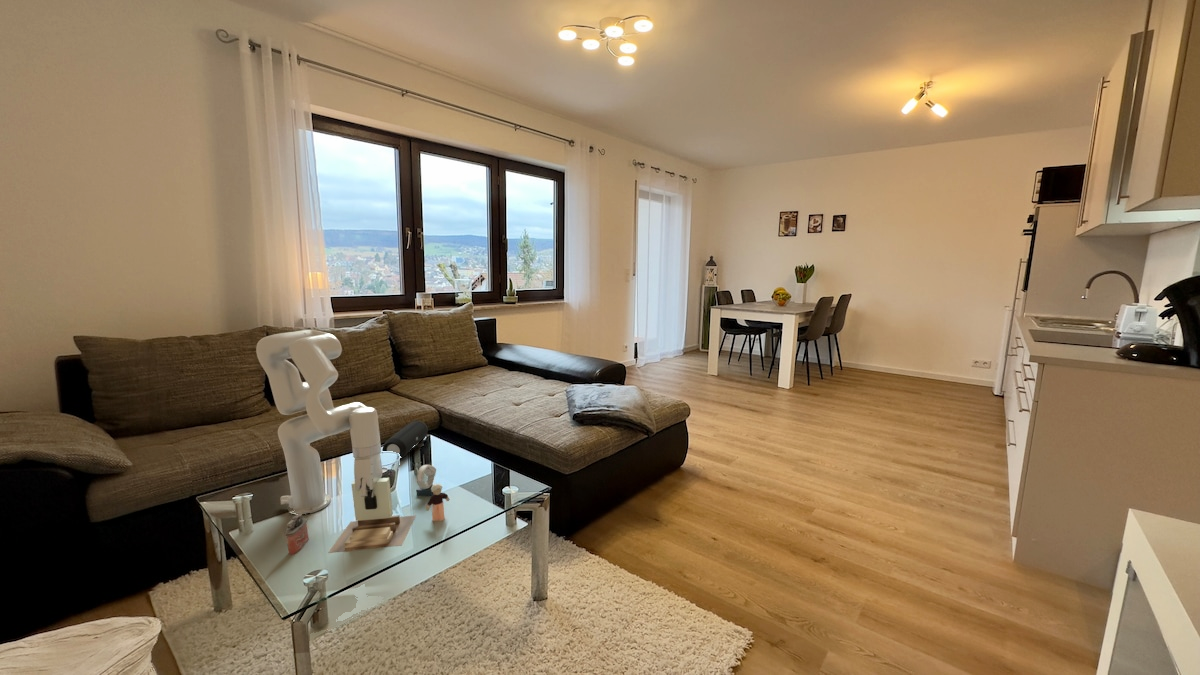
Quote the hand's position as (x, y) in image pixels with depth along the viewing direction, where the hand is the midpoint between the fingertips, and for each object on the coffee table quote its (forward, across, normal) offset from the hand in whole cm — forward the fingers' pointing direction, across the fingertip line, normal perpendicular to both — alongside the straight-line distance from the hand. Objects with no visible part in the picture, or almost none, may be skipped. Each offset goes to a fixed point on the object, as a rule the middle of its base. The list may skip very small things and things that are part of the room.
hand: (373, 505), depth 141 cm
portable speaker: (+10, -64, -8) cm, 66 cm away
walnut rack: (+9, +2, +1) cm, 9 cm away
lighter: (+9, +5, -19) cm, 22 cm away
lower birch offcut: (+8, +7, +1) cm, 10 cm away
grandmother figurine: (+9, -3, +19) cm, 21 cm away
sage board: (+4, 0, 0) cm, 4 cm away
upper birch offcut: (+6, +7, +1) cm, 9 cm away
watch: (+9, -21, +11) cm, 25 cm away
